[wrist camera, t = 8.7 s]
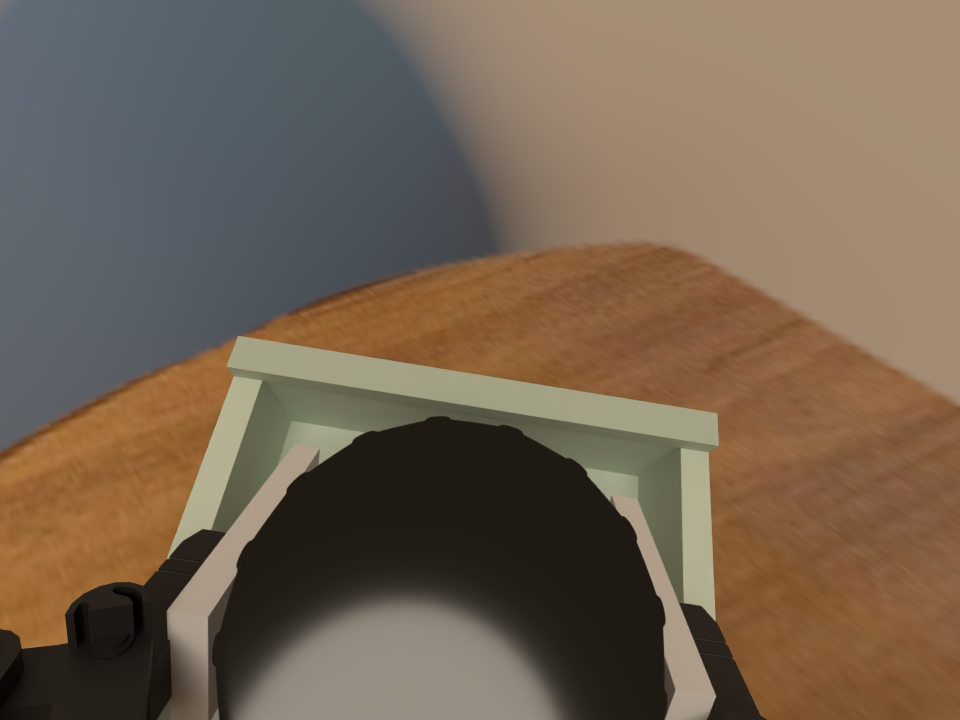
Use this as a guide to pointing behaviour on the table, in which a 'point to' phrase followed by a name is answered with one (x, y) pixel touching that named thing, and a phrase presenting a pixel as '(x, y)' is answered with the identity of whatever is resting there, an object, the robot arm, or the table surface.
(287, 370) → the tray
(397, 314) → the table surface
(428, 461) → the ink bottle
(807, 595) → the table surface
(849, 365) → the table surface
